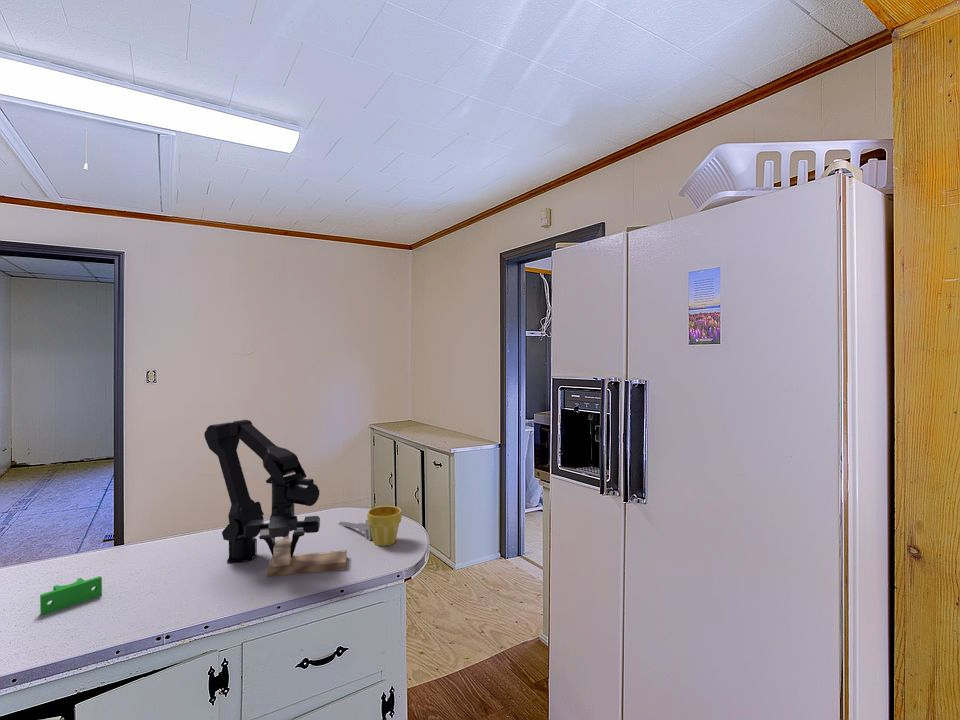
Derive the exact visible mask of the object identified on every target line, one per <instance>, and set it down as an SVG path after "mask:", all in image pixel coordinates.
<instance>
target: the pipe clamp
mask: <svg viewBox="0 0 960 720" xmlns="http://www.w3.org/2000/svg"><path fill="white" fill-rule="evenodd" d="M52 587H53V588H52V590H51V591H48V592H44V593H41V594H40V595H39V597H40V598H39V599H40V600H39V601H40V603H39V604H40V607H39V608H40V609H39V610H40V611H39V612H40V615H41V616H44V615H47V614H50V613H53V612H56V611H58V610H62V609H65V608H68V607H71V606H74V605H76V604H80V603H83V602H85V601H88V600H89V601H90V600H92V599H95V598H97V597H100V596H103V577H102V576H100V575H99V576H96V577H93V578H90V579H87V580H84V579H83V578H82V577H79V578H77V579H76V581H74V582H73V583H70V584H65V585H58V584H56V585H53V586H52ZM93 588H94V589H93ZM49 602H50V603H49Z"/></svg>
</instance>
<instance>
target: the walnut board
mask: <svg viewBox="0 0 960 720" xmlns="http://www.w3.org/2000/svg"><path fill="white" fill-rule="evenodd" d="M347 555H348V551H347V550H345V549H344V550H336V551H322V552H311V553H299V554H293V557H292V559H291V562H290V565H288V566H277V567H273V556H272V555H271V559H270V560H269V563H268V565H267V567H266V577H267V578H268V577H277V576H288V575H289V576H291V575H300V574H311V573H322V572H333V571H343V570H347V558H348V556H347Z"/></svg>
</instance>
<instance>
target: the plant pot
mask: <svg viewBox="0 0 960 720" xmlns="http://www.w3.org/2000/svg"><path fill="white" fill-rule="evenodd" d="M402 515H403V514H402V508H400V507H398V506H396V505H395V506H394V505H380V506H375V507H372V508H370V509H369V510H367V513H366V517H367V519H366V520H368V524H369V525H370V528H371V532H372V537H373V539H372V541H373V544H374V545H375V544H376V545H375V546H378V545H379V547H387V546H386V545H388V546H391V545H394V544H395V543H396V540H397V537H398V536H397V535H398V531H399V527H400V526H399V525H400V523H401V522H402V517H403V516H402Z"/></svg>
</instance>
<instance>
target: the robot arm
mask: <svg viewBox="0 0 960 720" xmlns="http://www.w3.org/2000/svg"><path fill="white" fill-rule="evenodd" d="M204 439H205V442H206V444H207V447H208V449H209V450H210V451H211V452H213V454H215V456H217V459H218V461H219V464H220V465H219V466H220V468H221V472H222V476H223V479H224V483H225V486H226V491H227V494H228V496H229V497H228V498H229V500H230V504H231V505H230V508H229V512H228V517H227V518H228V524H227V525H226V527H225V528H224V529H223V531H221V535H222V540H224V541H228V558H227V560H226V563H239V562H240V563H241V562H251V561H253V560H254V557H255V556H256V555H257V552H258V539H260V540H263V541H264V542H265V543H266V544H267V546H268V548H269V550H270V553H271V557H272V556H273V548H274V546H275V543H276V538H284V537H287V536H288V535H289V536H290V532H293V533H292V537H291V538H292V546H291V557H293V555H295V553H294V552H295V550H296V547H297V544H298V541H299V539H300V537H304V536H305V534H312V533H318V532H320V526H321V518H320V516H319V515H311V516H305V517H304V519H303V520H298V516H297V515H295V504H296V505H300V506H306V507H312V506H314V505H315V504H316V503H317V501H318V499H319V498H320V497H319V496H320V489H319V487H318V485H317V484H315V483H314V481H315V480H314V479H313V478H307V474H306V472H305V469H304V468H303V467H302V464H301V462H300V460H299V457H298V455H296V454H295V452H293V451H291V450H289V449H287V448H284V447H280V446H278V445H276V444H274V442H272V441H271V440H270V439H269V438H268V437H267V436H266V435H264V434H263V433H262V432H261V431H260V430H259V429H258V428H257V427H255V425H254V424H253V423H252V421H251V420H249V419H241V420H240V419H239V420H234V421H232V422H222V423H217V424H210V425H209V426H207V428H206V430H205V431H204ZM240 440H241V441H242V442H243V444H245V445H246V447H248V448H249V450H251V451H253V452H254V453H255V454H256V456H258V457H259V458H260V459H261V460H262V466H263V468H264V469H265V471H266V472H267V473H268V474H269V476H270V477H269V478H267V479H266V480H265V483H266V484H271V514H270V517H269V522H267V523H266V522H265V523H264V521H265V519H264V515H265V513H264V512H263V509H262V503H261V502H260V501H255V500H253V499H252V498H251V495H250V492H249V489H248V486H247V482H246V478H245V476H244V472H243V468H242V465H241V461H240V458H239V455H238V454H239V453H238V446H239V444H240ZM257 536H259V537H258V538H256V537H257Z"/></svg>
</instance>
